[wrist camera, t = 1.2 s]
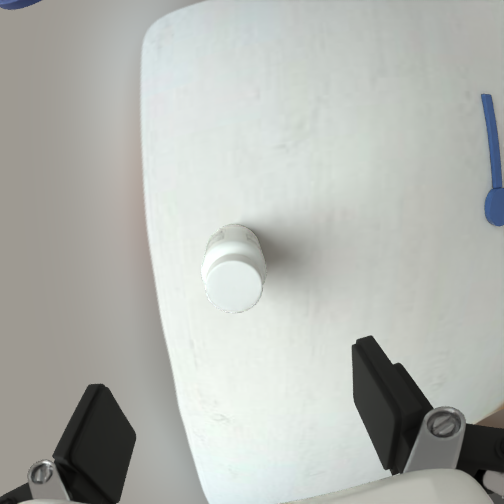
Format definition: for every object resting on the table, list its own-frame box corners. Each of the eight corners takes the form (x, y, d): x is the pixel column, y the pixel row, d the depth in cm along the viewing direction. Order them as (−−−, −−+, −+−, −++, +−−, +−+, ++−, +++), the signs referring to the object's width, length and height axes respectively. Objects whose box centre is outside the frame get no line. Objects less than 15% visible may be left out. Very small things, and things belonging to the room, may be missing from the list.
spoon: (471, 93, 23) (477, 93, 22) (495, 95, 23) (501, 95, 22) (484, 227, 27) (489, 229, 26) (506, 221, 27) (511, 223, 26)
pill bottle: (205, 273, 26) (196, 318, 19) (207, 221, 25) (197, 250, 18) (257, 276, 27) (267, 322, 19) (262, 225, 25) (275, 255, 18)
